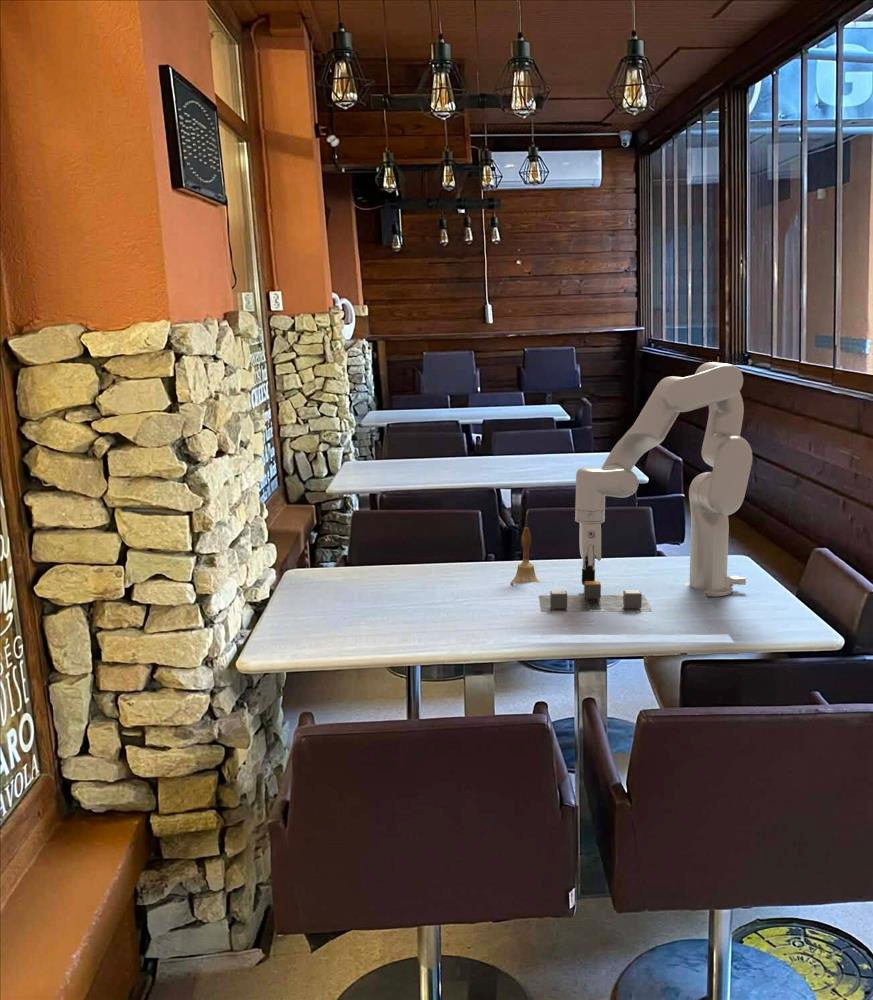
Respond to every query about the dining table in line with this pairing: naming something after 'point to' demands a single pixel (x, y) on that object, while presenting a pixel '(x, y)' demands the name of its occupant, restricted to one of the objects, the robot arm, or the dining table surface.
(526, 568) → the hand bell
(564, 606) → the breaker
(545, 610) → the panel
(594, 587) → the block
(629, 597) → the block
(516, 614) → the dining table surface
